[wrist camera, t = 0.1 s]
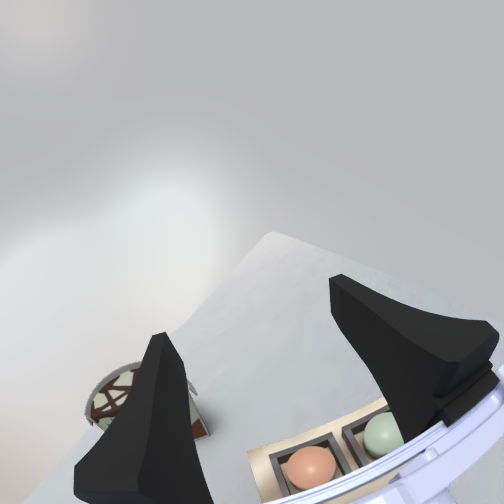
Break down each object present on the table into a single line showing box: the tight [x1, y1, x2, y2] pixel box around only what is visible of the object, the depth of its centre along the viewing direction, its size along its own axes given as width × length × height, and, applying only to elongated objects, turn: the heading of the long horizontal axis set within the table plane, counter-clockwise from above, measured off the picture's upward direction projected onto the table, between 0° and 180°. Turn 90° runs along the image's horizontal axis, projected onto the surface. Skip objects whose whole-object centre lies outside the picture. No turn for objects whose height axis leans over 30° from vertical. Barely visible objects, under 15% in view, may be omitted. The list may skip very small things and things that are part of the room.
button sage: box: [363, 412, 404, 458], centre depth 19 cm, size 4×4×2 cm
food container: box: [85, 361, 210, 441], centre depth 27 cm, size 12×6×10 cm, turn 111°
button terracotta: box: [286, 446, 336, 491], centre depth 18 cm, size 4×4×2 cm
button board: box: [247, 397, 421, 504], centre depth 20 cm, size 10×24×4 cm, turn 104°
